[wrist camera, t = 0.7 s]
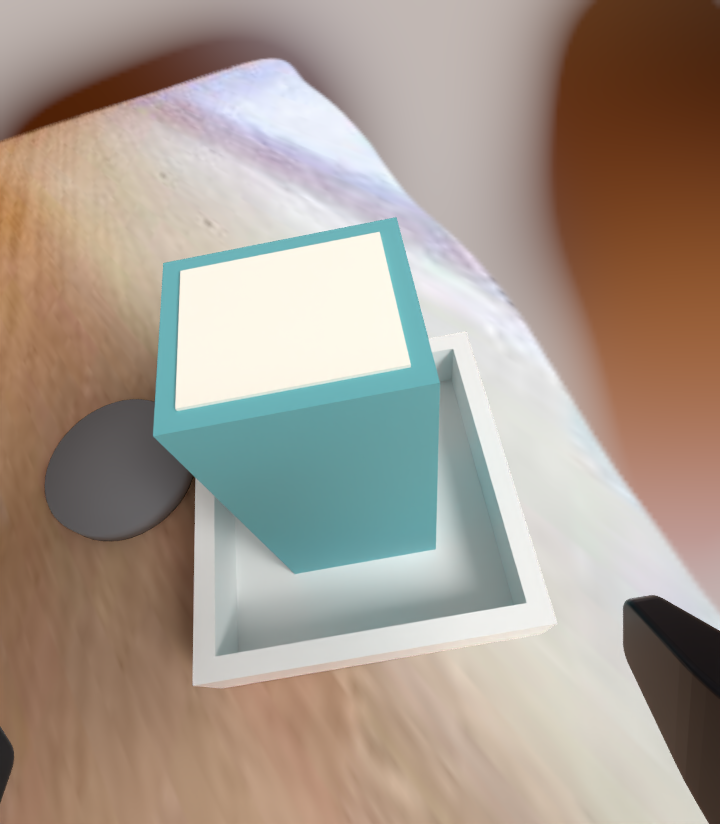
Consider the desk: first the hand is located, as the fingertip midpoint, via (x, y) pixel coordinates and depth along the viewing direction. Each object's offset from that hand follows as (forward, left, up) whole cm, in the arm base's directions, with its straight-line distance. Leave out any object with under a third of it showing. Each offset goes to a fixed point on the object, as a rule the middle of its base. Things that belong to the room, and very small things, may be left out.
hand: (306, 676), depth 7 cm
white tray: (+8, 0, -14) cm, 16 cm away
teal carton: (+8, 0, -14) cm, 16 cm away
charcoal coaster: (+12, +11, -14) cm, 21 cm away
